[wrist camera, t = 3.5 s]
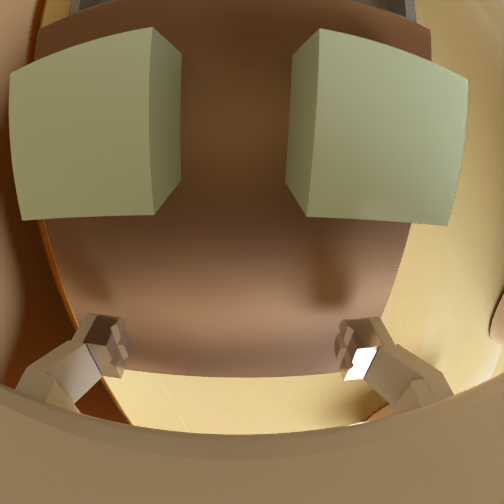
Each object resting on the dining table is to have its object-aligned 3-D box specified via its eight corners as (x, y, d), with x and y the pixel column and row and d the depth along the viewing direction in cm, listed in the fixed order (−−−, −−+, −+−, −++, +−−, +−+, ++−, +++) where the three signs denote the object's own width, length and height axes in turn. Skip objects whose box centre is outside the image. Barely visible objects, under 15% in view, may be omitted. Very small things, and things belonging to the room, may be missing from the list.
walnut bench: (339, 321, 17) (358, 369, 13) (118, 317, 16) (97, 364, 12) (382, 45, 9) (430, 29, 6) (85, 43, 8) (37, 30, 5)
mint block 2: (396, 191, 9) (447, 226, 6) (285, 181, 8) (306, 216, 6) (408, 81, 7) (468, 79, 4) (292, 55, 6) (319, 28, 4)
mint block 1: (181, 180, 8) (154, 215, 6) (74, 186, 8) (22, 220, 5) (182, 54, 6) (152, 27, 4) (68, 76, 6) (10, 73, 3)
